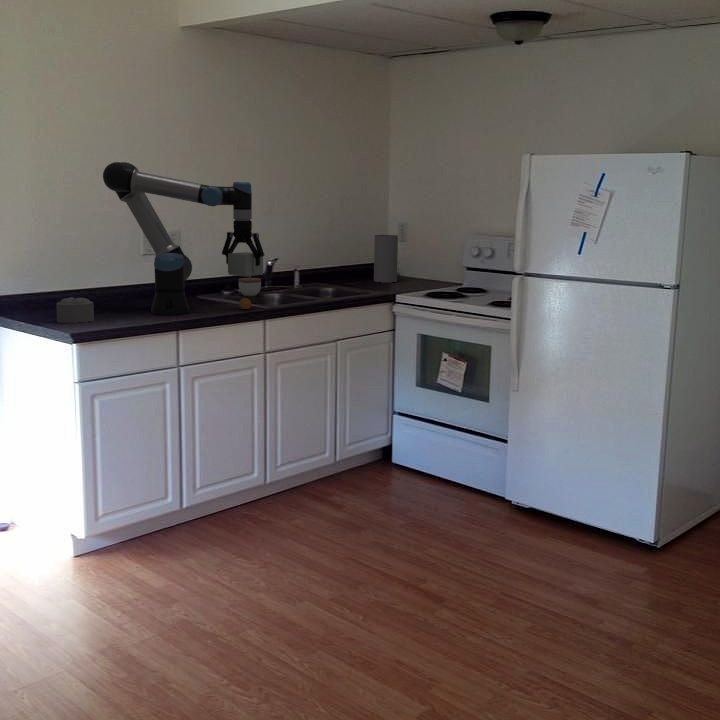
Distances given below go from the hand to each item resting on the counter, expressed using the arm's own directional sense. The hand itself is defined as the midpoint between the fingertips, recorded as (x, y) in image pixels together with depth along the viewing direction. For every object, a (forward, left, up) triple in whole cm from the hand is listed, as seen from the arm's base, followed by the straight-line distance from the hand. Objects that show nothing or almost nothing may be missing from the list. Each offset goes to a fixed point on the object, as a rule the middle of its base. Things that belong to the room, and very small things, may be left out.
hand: (243, 272), depth 375 cm
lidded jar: (+34, +30, -15) cm, 48 cm away
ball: (-1, -2, -13) cm, 13 cm away
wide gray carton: (+2, 0, -1) cm, 2 cm away
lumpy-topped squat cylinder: (-67, +23, -15) cm, 72 cm away
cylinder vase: (+127, +19, -15) cm, 130 cm away
